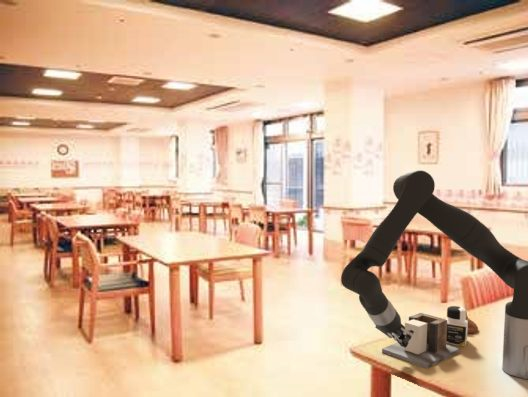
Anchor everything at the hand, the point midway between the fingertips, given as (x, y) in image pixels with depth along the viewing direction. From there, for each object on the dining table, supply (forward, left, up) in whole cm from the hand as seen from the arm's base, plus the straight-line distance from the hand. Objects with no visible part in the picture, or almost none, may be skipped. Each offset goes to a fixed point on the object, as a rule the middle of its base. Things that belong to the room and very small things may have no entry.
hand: (404, 344), depth 147 cm
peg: (+2, -6, -3) cm, 7 cm away
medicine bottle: (+7, -27, -5) cm, 29 cm away
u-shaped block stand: (+3, -9, -5) cm, 11 cm away
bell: (+17, -39, -5) cm, 43 cm away
